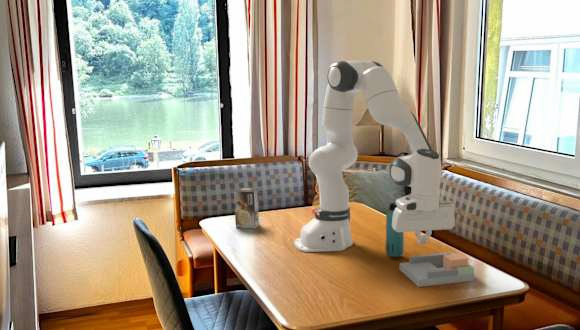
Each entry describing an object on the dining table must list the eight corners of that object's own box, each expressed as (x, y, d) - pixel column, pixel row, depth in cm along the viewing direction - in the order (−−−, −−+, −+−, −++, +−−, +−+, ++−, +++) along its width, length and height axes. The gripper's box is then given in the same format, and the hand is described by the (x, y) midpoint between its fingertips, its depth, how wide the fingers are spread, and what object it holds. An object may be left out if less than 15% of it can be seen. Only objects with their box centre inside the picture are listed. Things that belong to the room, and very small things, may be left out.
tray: (418, 286, 186) (418, 273, 185) (399, 269, 200) (399, 257, 199) (473, 280, 190) (474, 267, 189) (451, 264, 204) (451, 252, 203)
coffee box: (259, 224, 255) (258, 188, 252) (255, 228, 249) (254, 191, 246) (239, 223, 257) (238, 187, 254) (234, 227, 251) (233, 191, 248)
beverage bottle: (405, 255, 214) (406, 201, 210) (402, 261, 208) (403, 206, 204) (387, 253, 216) (387, 200, 212) (383, 259, 210) (384, 205, 206)
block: (450, 273, 189) (450, 260, 189) (442, 268, 194) (443, 255, 193) (467, 271, 191) (467, 258, 190) (459, 266, 196) (460, 253, 195)
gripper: (450, 197, 191) (447, 237, 194) (390, 200, 187) (388, 241, 190) (460, 202, 185) (456, 244, 188) (398, 205, 181) (396, 248, 184)
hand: (422, 243), depth 189 cm, fingers closed
